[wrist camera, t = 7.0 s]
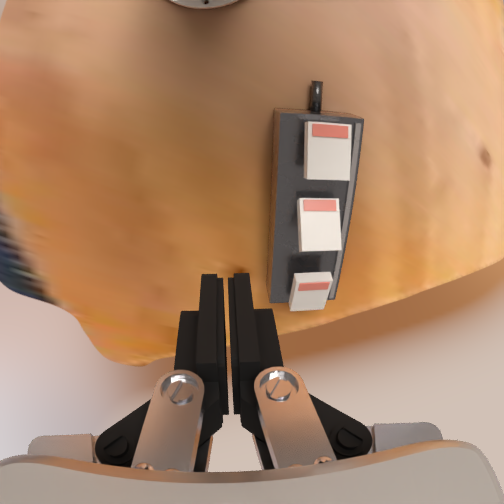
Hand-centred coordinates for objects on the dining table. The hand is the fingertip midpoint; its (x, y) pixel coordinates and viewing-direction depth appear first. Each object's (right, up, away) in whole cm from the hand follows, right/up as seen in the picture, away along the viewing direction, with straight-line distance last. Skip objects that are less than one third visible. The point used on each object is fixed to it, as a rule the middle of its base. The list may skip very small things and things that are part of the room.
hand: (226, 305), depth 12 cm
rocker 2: (+8, +5, +23) cm, 25 cm away
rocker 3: (+8, -2, +28) cm, 29 cm away
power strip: (+8, +9, +27) cm, 30 cm away
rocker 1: (+8, +12, +19) cm, 24 cm away
